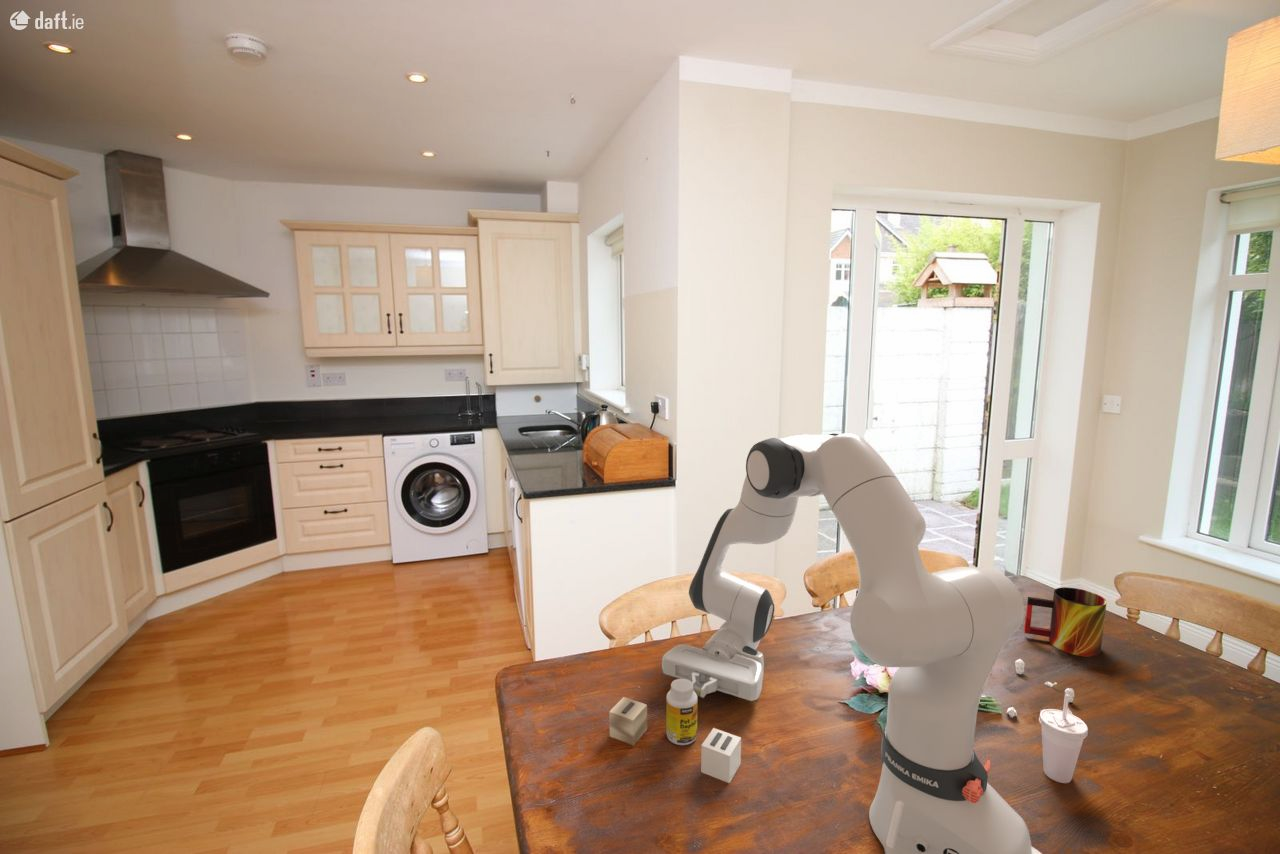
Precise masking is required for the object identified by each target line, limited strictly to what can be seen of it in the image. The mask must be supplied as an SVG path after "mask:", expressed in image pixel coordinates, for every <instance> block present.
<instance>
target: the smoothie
mask: <svg viewBox="0 0 1280 854" xmlns="http://www.w3.org/2000/svg"><path fill="white" fill-rule="evenodd" d="M1068 700H1069V695H1068V694H1066V693H1064V700H1063V708H1062V710H1061V709H1056V708H1055V709H1054V708H1046V709H1045V710H1044V709H1042V710H1043V711H1042V710H1041V711H1040V713H1039V717H1038V721H1039V723H1040V725H1041V726H1040V727H1041V741H1042V743H1041V744H1042V745H1041V746H1042V762H1043V772H1044V774H1045V776H1047V777H1048V778H1049V779H1051V780H1053V781H1055V782H1057V783H1061V784H1068V783H1070V782H1072V779H1073V775H1074V773H1075V769H1076V766H1077V762H1078V758H1079V755H1080V752H1081V749H1082V746H1083V743H1084V739H1086V738H1087V737H1088V730H1089V728H1088V726H1087V724H1086V723H1085V722H1084V720H1082V719H1081V718H1080V717H1078V716H1076V715H1074V714H1073V713H1072V714H1073V715H1072V714H1070V713H1068V712H1067V710H1068V708H1069V702H1068Z"/></svg>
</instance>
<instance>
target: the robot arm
mask: <svg viewBox="0 0 1280 854" xmlns="http://www.w3.org/2000/svg"><path fill="white" fill-rule="evenodd" d="M745 472H746V475H745V478H744V481H743V485H742V488H741V492H740V498H739V501H738V504H737V505H736V506H735V507H734V508H728V509H726V511H724V512H723V513H722V515H721V516H720V518H719V519H718V521H717V522H716V524H715V527H714V529H713V531H712V533H711V536H710V539H709V540H708V543H707V546H706V549H705V551H704V554H703V557H702V559H701V561H700V564H699V566H698V569H697V571H696V572H695V574H694V576H693V577H692V580H691V582H690V585H689V587H688V595H689V599H690V601H691V603H692V605H693V606H694V608H695V609H696V610H699V611H702V612H704V613H706V614H711V615H713V616H715V617H717V618H719V619H722V620H724V622H723V623H722V624H721V625H720V627H719V628H718V629H717V631H716V632H715V633H714V634H712V636H711V637H710V638H709V639H708V640H707V642H706V643H705V644H704V645H703V646H702V648H700V647H696V646H692V645H689V644H685V643H683V644H682V643H681V644H680V643H679V644H677V645H675V646H673V647H672V648H671V649H669V650H668V651H666V652H665V653H664V654H663V656H662V658H661V659H662V660H661V669H662V672H663V674H665V675H667V676H670V677H674V678H676V679H687V680H689V681H691V682H692V684H693V691H694V692H695V693H696V695H697V697H699V698H702V699H704V698H705V696H706V695H707V694H711V693H716V691H718V692H721V693H723V694H727V695H731V696H734V697H737V698H740V699H744V700H746V701H749V702H753V701H756V700H758V699H759V698H760V695H761V693H762V689H763V682H764V681H763V680H764V672H765V662H764V661H765V660H764V654H763V653H762V652H761V651H759V650H757V649H758V647H759V644H760V642H761V640H762V639H764V637H765V636H766V634H767V632H769V629H770V628H771V627H770V626H771V624H772V622H773V618H774V614H775V603H774V600H773V598H772V595H771V593H770V591H769V590H768V589H766V588H764V587H762V586H761V585H758V584H756V583H754V582H751V581H749V580H745V579H743V578H742V577H741V578H740V577H738V576H736V575H734V574H732V573H729V572H727V570H725V569H724V568H723V567H722V565H723V562H724V559H725V558H726V555H727V553H728V550H729V548H730V546H731V545H736V544H737V545H738V544H749V545H750V544H751V545H766V544H771V543H774V542H776V541H779V540H780V539H782V538H783V537H785V536H786V534H788V532H789V531H790V529H791V527H792V524H793V522H794V518H795V515H796V511H797V508H798V501H799V497H810V498H811V497H817V496H824V498H825V500H826V502H827V504H828V506H829V508H830V510H831V512H832V513H833V515H834V517H835V519H836V521H837V523H838V524H839V526H840V528H841V530H842V532H843V534H844V536H845V538H846V540H847V541H848V544H849V546H850V547H851V550H852V552H853V555H854V558H855V561H856V565H857V569H858V576H859V577H858V578H859V580H858V581H859V585H858V592H857V594H856V597H855V599H854V600H853V603H852V605H851V608H850V609H851V610H850V614H849V615H850V616H849V620H850V629H851V633H852V636H853V639H854V640H855V642H856V644H857V646H858V647H859V649H860V650H861V652H862V653H863V654H864V655H865V656H866V657H867V658H868V659H869V660H870V661H871V662H873V663H874V664H876V665H878V666H880V667H884V668H897V669H896V671H895V672H894V673H893V676H892V677H891V680H890V682H889V686H888V696H887V697H888V699H887V711H886V712H887V713H886V726H884V728H883V732H882V737H881V745H880V753H881V756H880V757H881V759H880V761H881V764H882V767H881V773H880V778H879V782H878V786H877V789H876V794H875V796H874V798H873V800H872V802H871V804H870V806H869V813H868V816H869V823H870V827H871V828H872V830H873V833H874V834H875V836H876V837H877V839H878V840H879V842H880V843H881V845H882V847H883V850H884V854H1043V853H1042V852H1040V851H1039V850H1038V849H1036V848H1035V847H1033V846H1032V841H1031V837H1030V836H1031V835H1030V832H1029V829H1028V826H1027V823H1026V821H1025V820H1024V819H1023V818H1022V817H1021V815H1019V813H1017V811H1015V809H1014V808H1013V807H1012V806H1011V805H1010V804H1008V802H1007V801H1006V800H1005V799H1004V798H1003V797H1002V796H1001V795H1000V794H999V793H998V792H997V791H996V790H995V789H994V788H993V786H992V785H990V783H989V782H988V781H989V780H988V775H989V772H990V771H991V770H990V769H991V760H990V759H988V760H987V761H986V763H985V765H983V764H982V762H981V761H980V760H979V758H978V756H977V755H976V752H975V749H974V743H975V742H974V741H975V733H976V725H977V717H978V716H977V715H978V710H979V706H980V705H979V702H980V699H981V696H982V695H983V693H984V690H985V688H986V685H987V682H988V680H989V678H990V676H991V674H992V672H993V669H994V666H995V664H996V662H997V660H998V658H999V656H1000V653H1001V652H1002V650H1003V648H1005V645H1006V644H1007V642H1008V641H1009V640H1010V639H1011V637H1012V636H1013V635H1014V634H1015V633H1016V632H1017V631H1018V630H1019V628H1020V627H1022V624H1023V622H1024V620H1025V619H1024V618H1025V606H1024V605H1025V604H1024V601H1023V597H1022V595H1021V593H1020V591H1019V590H1018V588H1017V586H1016V584H1014V583H1013V582H1012V580H1011V579H1010V578H1009V577H1007V576H1006V575H1005V574H1004V573H1002V572H1000V571H998V570H996V569H992V568H989V567H979V566H957V567H952V568H951V567H950V568H947V569H942V570H937V571H933V572H929V571H928V570H927V568H926V567H925V565H924V563H923V561H922V558H921V555H920V551H919V545H920V544H921V542H922V540H923V539H924V537H925V533H926V530H927V528H926V527H927V526H926V525H927V524H926V520H925V518H924V516H923V515H922V514H921V512H920V511H919V508H918V507H917V506H916V505H915V503H914V501H913V500H912V497H910V495H909V494H908V492H907V491H906V489H905V487H904V486H903V484H902V483H901V482H900V480H899V478H898V477H897V475H896V474H895V473H894V471H893V470H892V468H891V467H890V466H889V465H888V464H887V462H886V461H885V460H884V458H883V457H882V456H881V455H880V453H878V452H877V451H876V450H875V448H874V447H872V445H871V444H869V442H868V441H866V440H865V438H863V437H861V436H859V435H857V434H855V433H849V432H848V433H847V432H846V433H829V434H818V433H817V434H804V433H802V434H801V433H800V434H793V435H787V436H782V437H778V438H776V437H771V438H766V439H764V440H761V441H758V442H756V443H755V444H753V445H752V447H751V448H750V450H749V451H748V454H747V457H746V462H745Z"/></svg>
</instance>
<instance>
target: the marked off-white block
mask: <svg viewBox="0 0 1280 854" xmlns="http://www.w3.org/2000/svg"><path fill="white" fill-rule="evenodd" d="M700 748H701V751H700V753H701V754H700V755H701V757H700V758H701V762H700V765H701V766H700V767H701V768H700V771H701V772H700V773H702V774H705V775H708V776H709V777H712V778H715V779H716V780H720V781H723V782H724V783H728V784H731V782H732V779H733V778H734V776H735V774H736V773H737V771H738V769H739V767H740V766H741V764H742V763H741V762H742V761H741V760H742V756H741V755H742V754H741V753H742V737H741V736H738V735H735V734H732V733H729V732H726V731H724V730H721V729H718V728H716V727H713V728H712V729H711V731H710V732H709V734H708V735H707V736H706V738H705V740H704V741H703V742H702V744H701V746H700Z"/></svg>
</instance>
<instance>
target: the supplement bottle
mask: <svg viewBox="0 0 1280 854" xmlns="http://www.w3.org/2000/svg"><path fill="white" fill-rule="evenodd" d="M670 683H671V684H670V689H669V691H668V692H667V694H666V701H665V702H666V705H665V706H666V710H665V711H666V716H665V717H666V718H665V719H666V720H665V721H666V725H665V726H666V727H665V729H666V731H665V732H666V738H667V739H668V740H669V741H670V742H671V743H672V744H675V745H677V746H688V745H690V744H692V743H693V742H694V741H696V738H697V735H698V696H697V695H696V693H695V692H694V691H693V684H692V682H691V681H689V680H687V679H679V678H676V679H674V680H672V682H670Z"/></svg>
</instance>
